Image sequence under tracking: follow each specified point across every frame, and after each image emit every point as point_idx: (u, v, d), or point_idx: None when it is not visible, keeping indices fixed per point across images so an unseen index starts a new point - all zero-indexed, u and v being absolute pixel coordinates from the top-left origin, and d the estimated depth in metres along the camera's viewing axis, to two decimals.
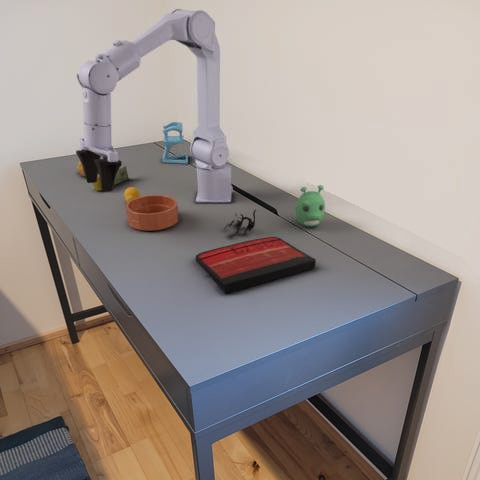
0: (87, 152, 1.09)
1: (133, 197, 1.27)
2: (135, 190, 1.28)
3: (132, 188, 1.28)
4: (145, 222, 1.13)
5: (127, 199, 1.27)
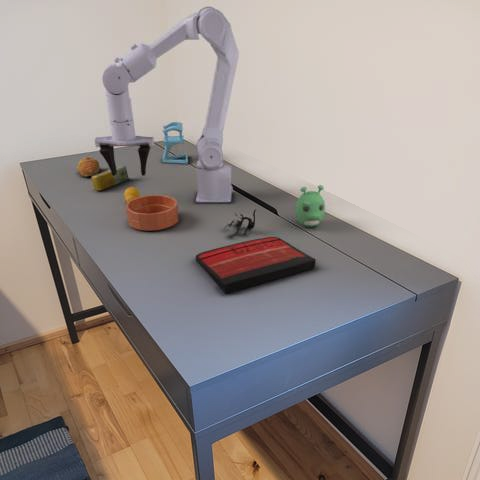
0: (109, 148, 1.21)
1: (133, 197, 1.27)
2: (135, 190, 1.28)
3: (132, 188, 1.28)
4: (145, 222, 1.13)
5: (127, 199, 1.27)
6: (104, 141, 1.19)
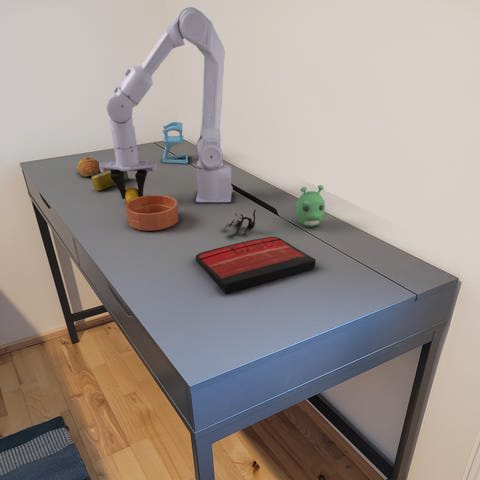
0: (120, 173, 1.25)
1: (133, 197, 1.27)
2: (135, 190, 1.28)
3: (132, 188, 1.28)
4: (145, 222, 1.13)
5: (127, 199, 1.27)
6: (108, 166, 1.23)
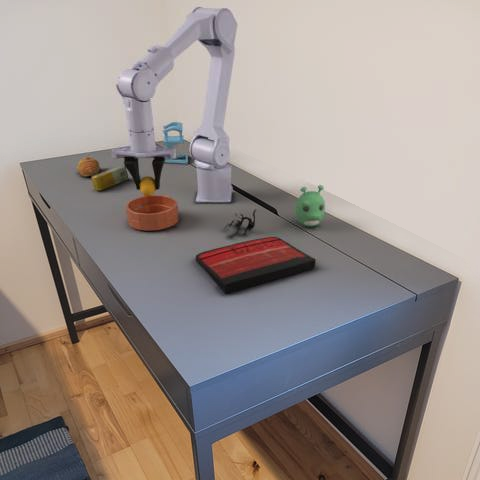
0: (134, 160, 1.11)
1: (149, 187, 1.13)
2: (151, 180, 1.14)
3: (148, 177, 1.14)
4: (145, 222, 1.13)
5: (142, 190, 1.14)
6: (122, 153, 1.09)
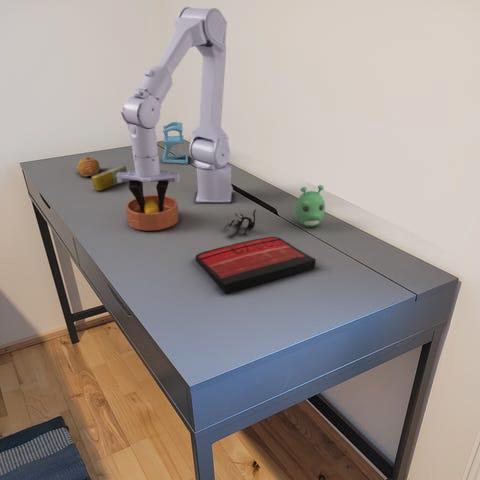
0: (139, 184, 1.14)
1: (153, 210, 1.16)
2: (155, 202, 1.16)
3: (152, 200, 1.16)
4: (145, 222, 1.13)
5: (147, 212, 1.16)
6: (127, 177, 1.12)
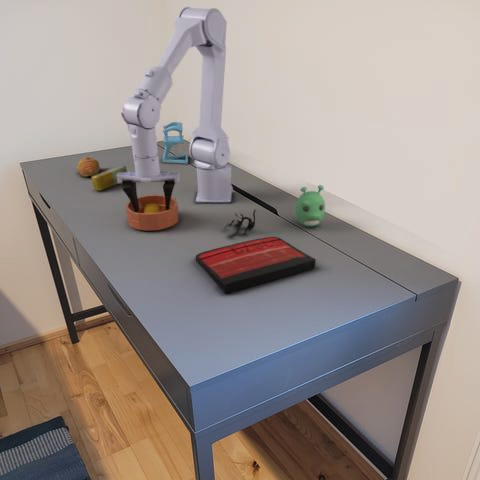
0: (132, 184, 1.14)
1: None
2: (155, 206, 1.17)
3: (152, 204, 1.17)
4: (145, 222, 1.13)
5: None
6: (127, 177, 1.12)
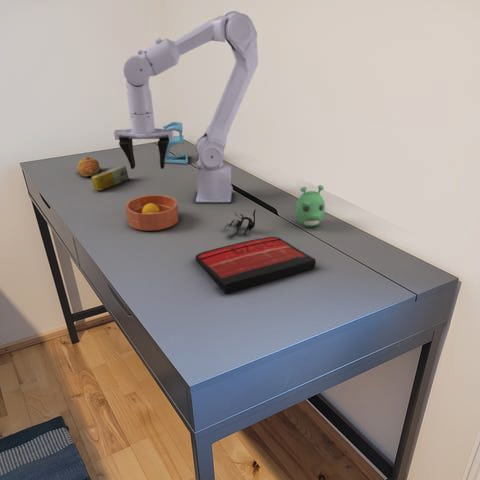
0: (129, 141, 1.20)
1: None
2: (153, 206, 1.17)
3: (149, 204, 1.17)
4: (145, 222, 1.13)
5: None
6: (124, 134, 1.19)
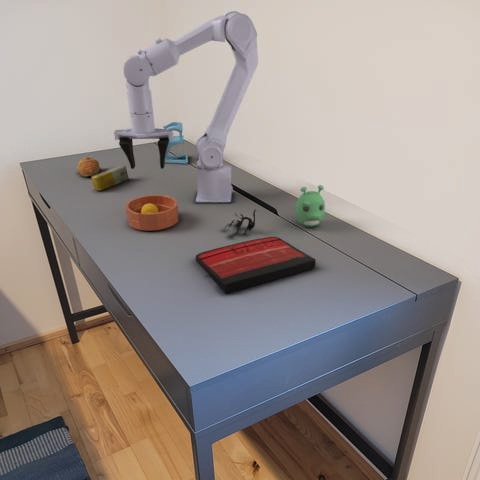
0: (129, 141, 1.20)
1: None
2: (151, 206, 1.17)
3: (147, 204, 1.17)
4: (145, 222, 1.13)
5: None
6: (124, 134, 1.19)
